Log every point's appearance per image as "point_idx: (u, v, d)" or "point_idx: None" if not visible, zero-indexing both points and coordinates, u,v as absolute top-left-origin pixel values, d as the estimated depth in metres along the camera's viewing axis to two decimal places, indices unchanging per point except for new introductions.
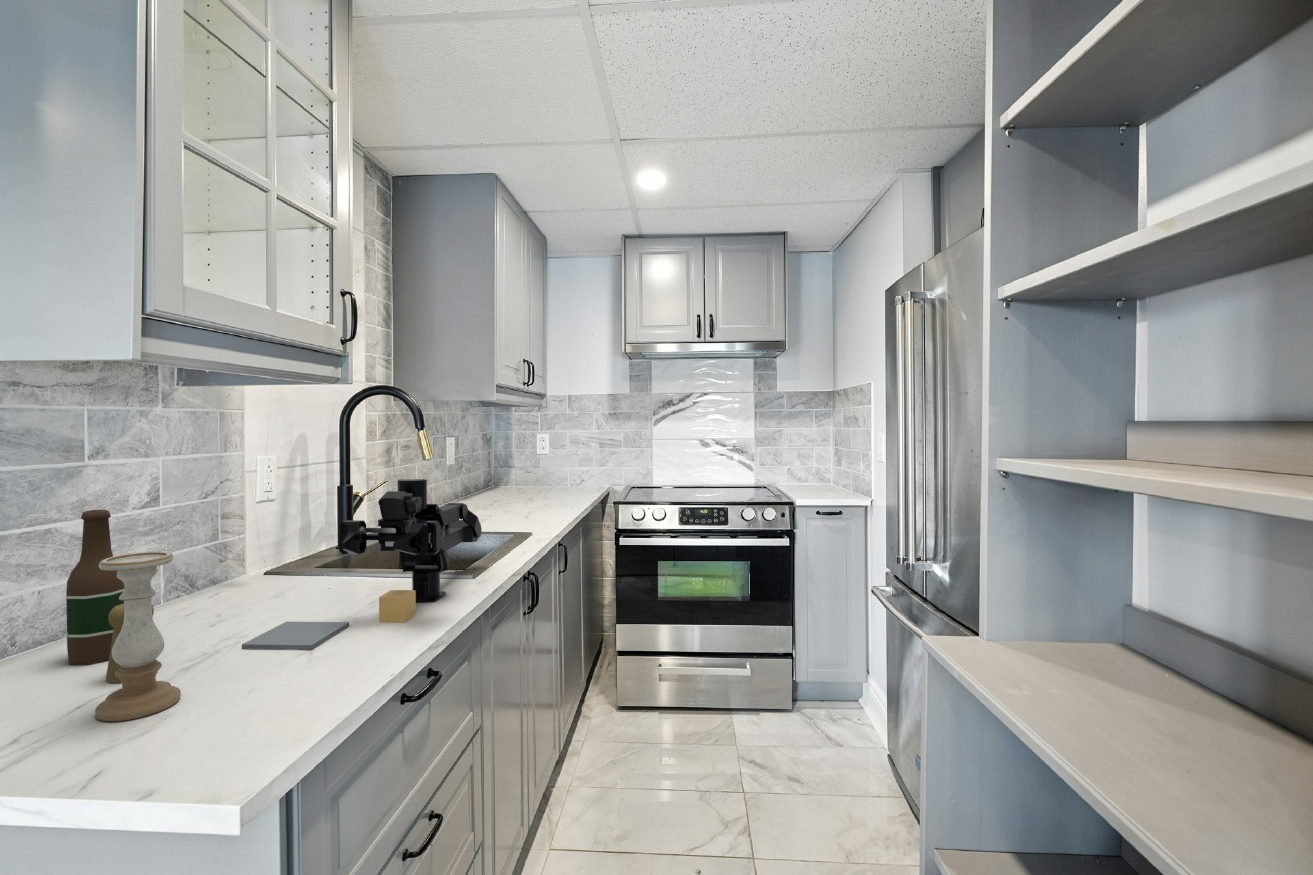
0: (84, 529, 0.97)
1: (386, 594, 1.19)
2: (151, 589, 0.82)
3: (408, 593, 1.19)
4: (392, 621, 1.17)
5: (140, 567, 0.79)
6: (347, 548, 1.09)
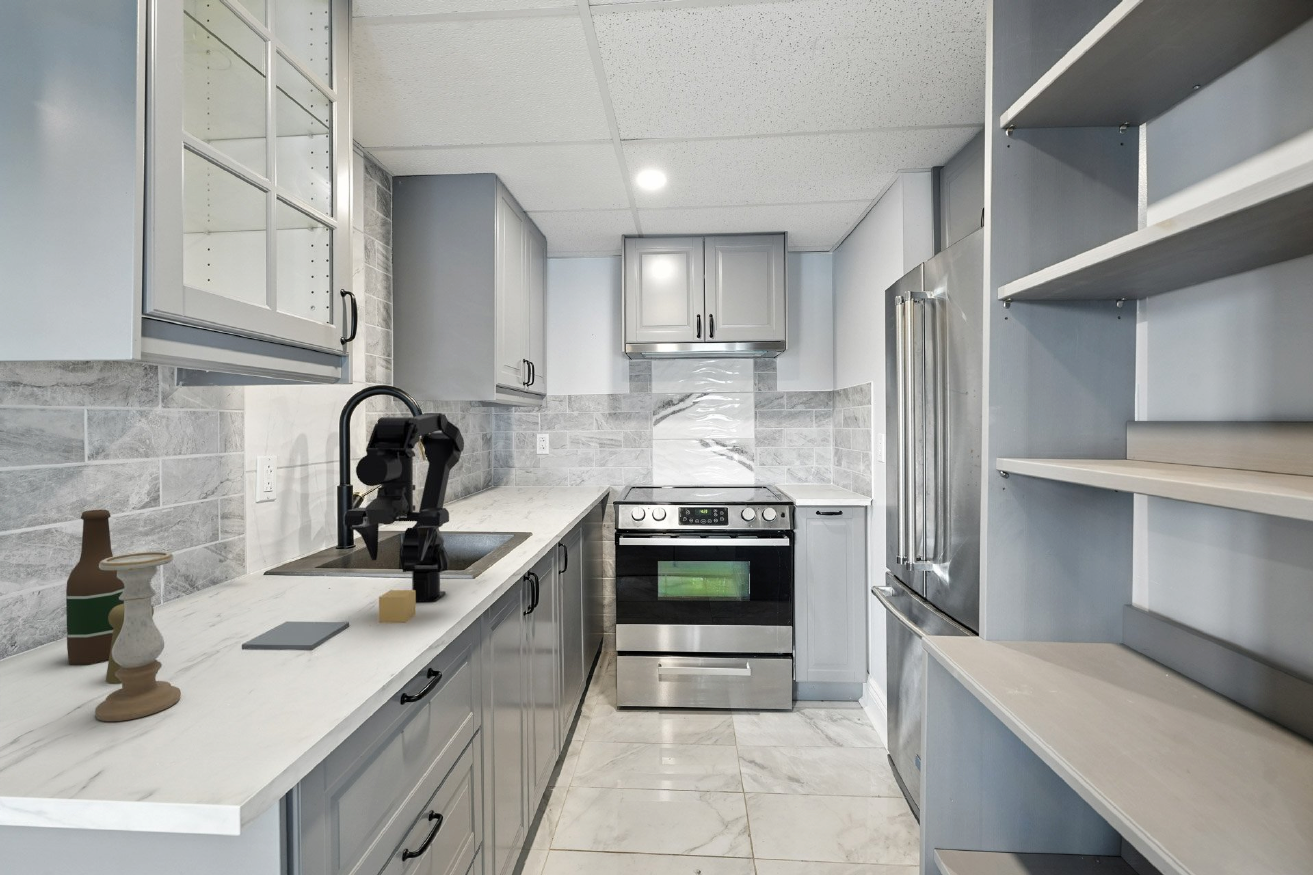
0: (84, 529, 0.97)
1: (386, 594, 1.19)
2: (151, 589, 0.82)
3: (408, 593, 1.19)
4: (392, 621, 1.17)
5: (140, 567, 0.79)
6: None
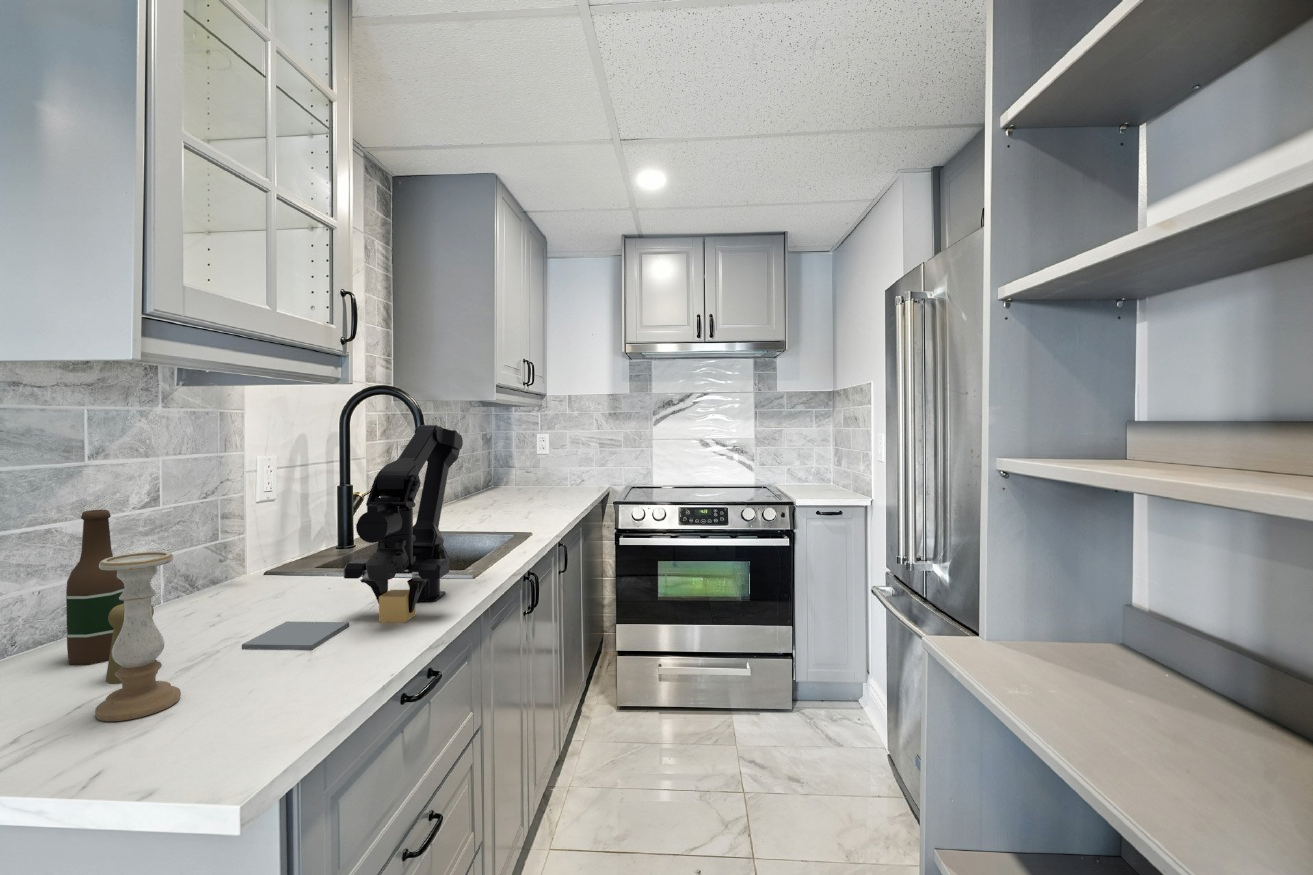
0: (84, 529, 0.97)
1: (386, 594, 1.19)
2: (151, 589, 0.82)
3: (408, 592, 1.19)
4: (392, 621, 1.17)
5: (140, 567, 0.79)
6: None
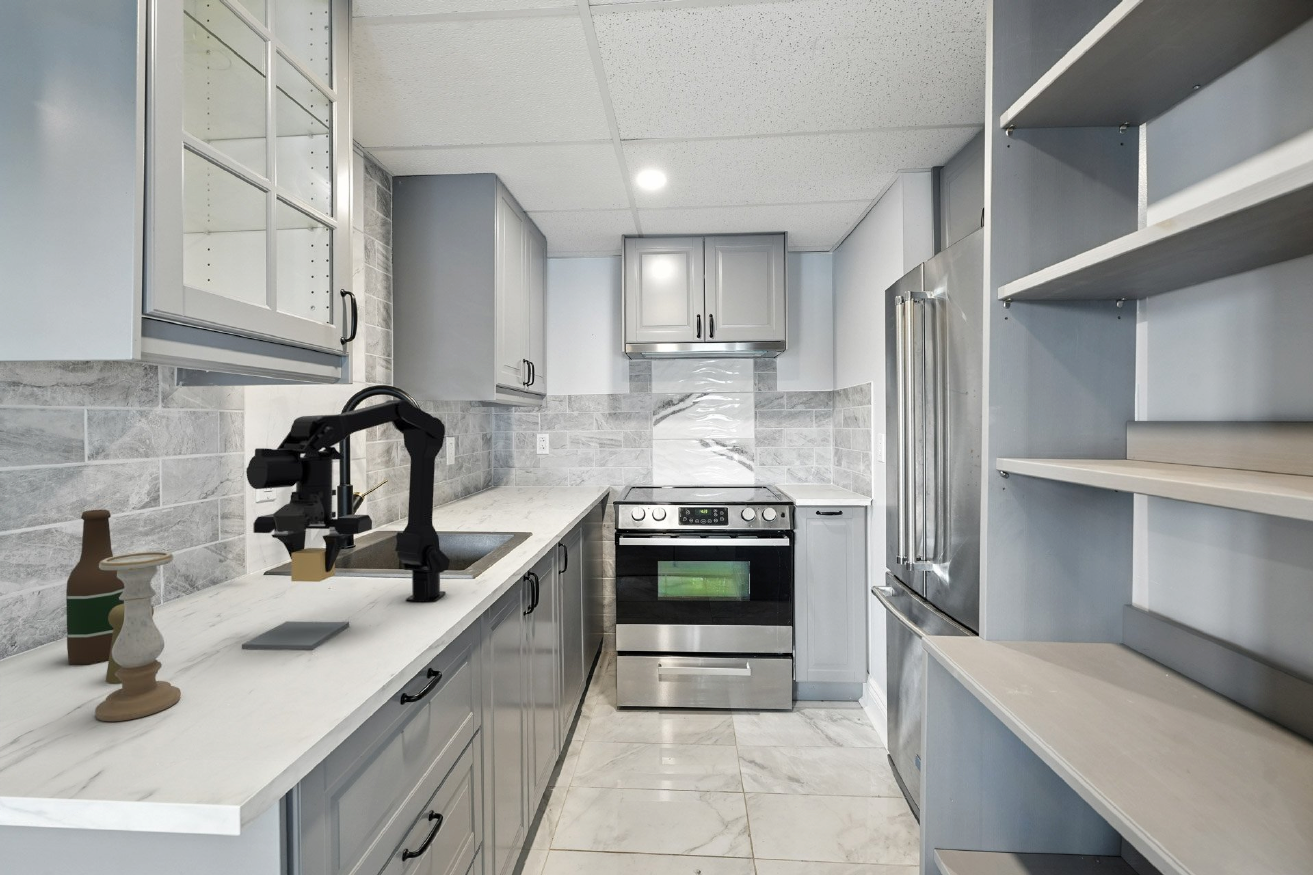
0: (84, 529, 0.97)
1: (301, 551, 1.09)
2: (151, 589, 0.82)
3: (325, 550, 1.10)
4: (306, 579, 1.07)
5: (140, 567, 0.79)
6: None
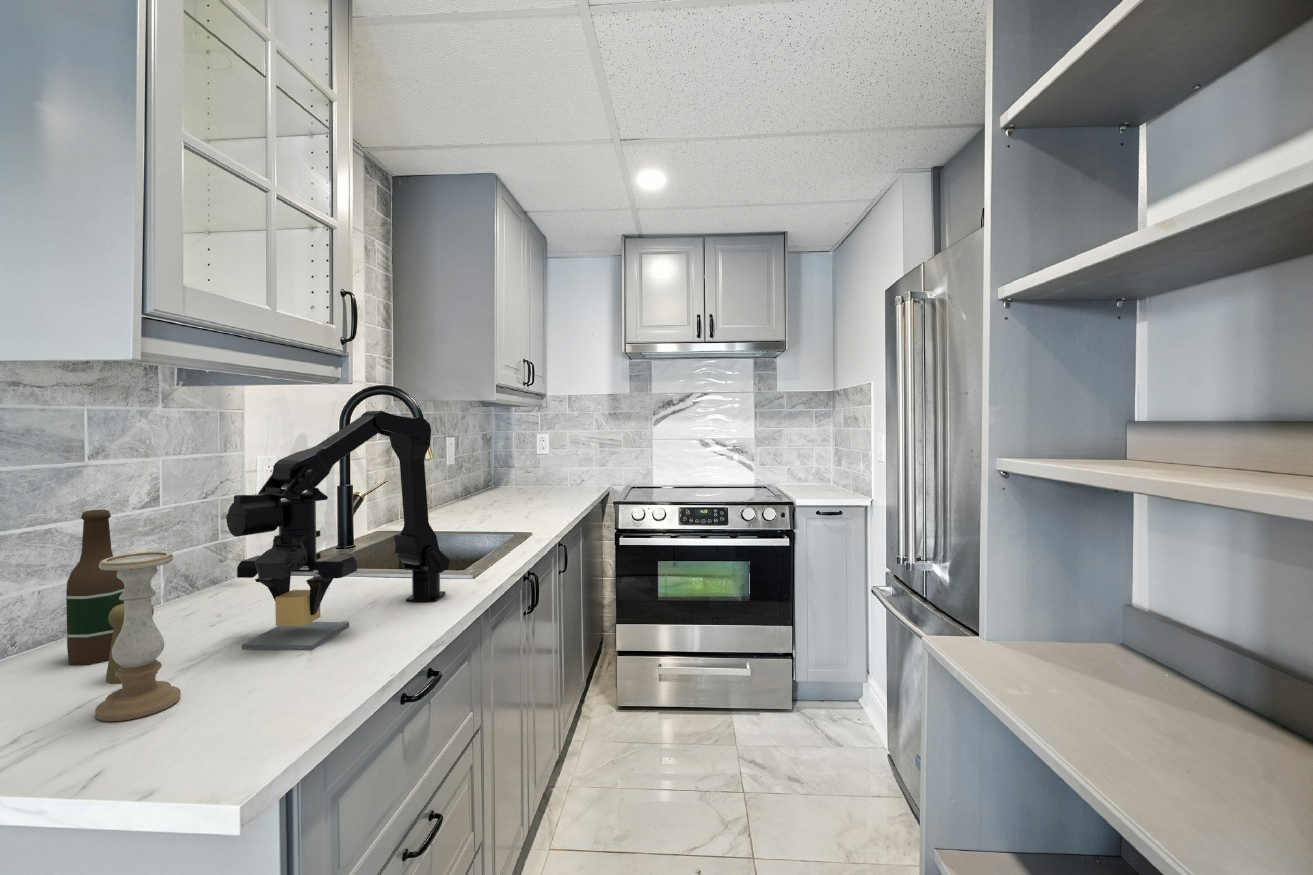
0: (84, 529, 0.97)
1: (285, 594, 1.08)
2: (151, 589, 0.82)
3: None
4: (290, 624, 1.06)
5: (140, 567, 0.79)
6: None
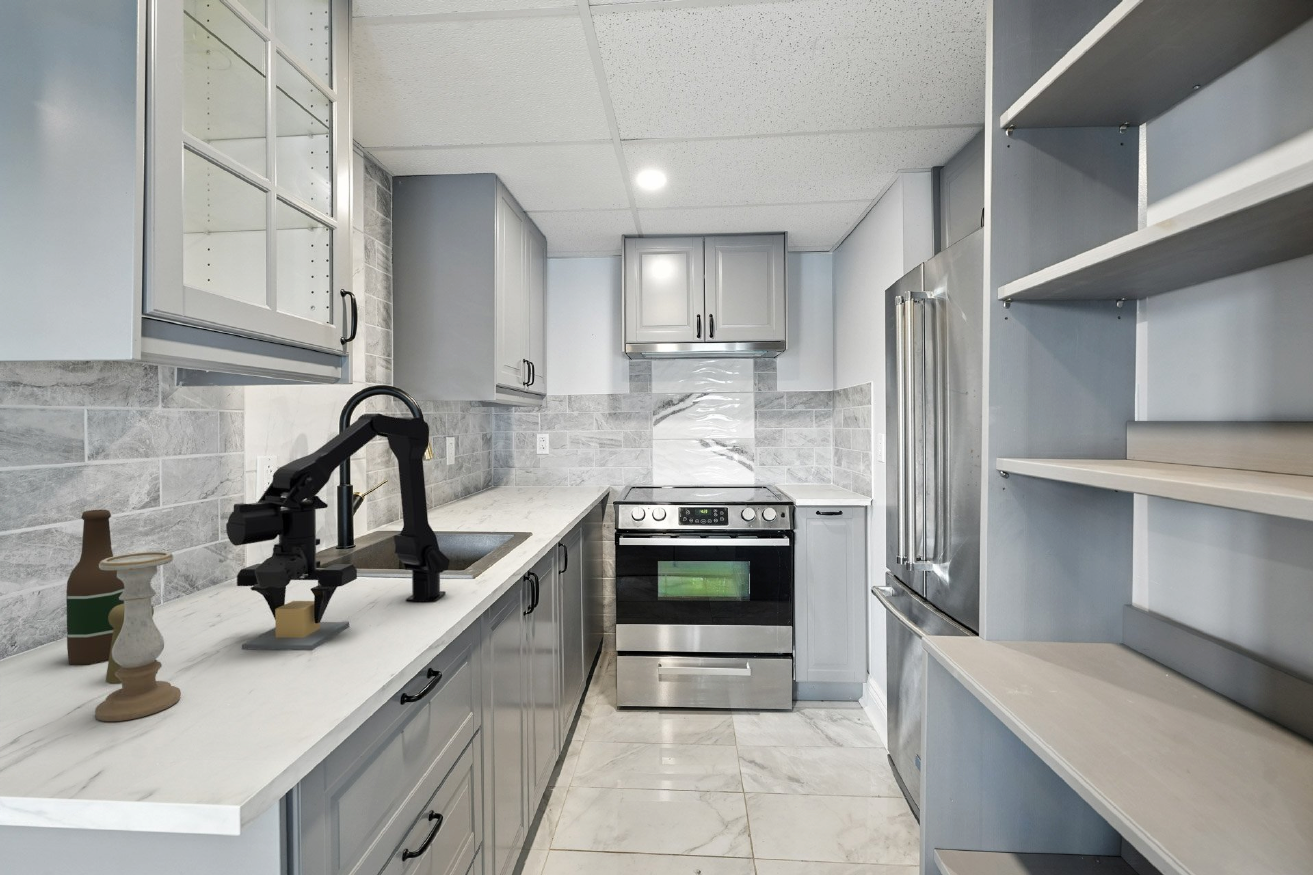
0: (84, 529, 0.97)
1: (285, 606, 1.08)
2: (151, 589, 0.82)
3: (310, 604, 1.09)
4: (290, 636, 1.06)
5: (140, 567, 0.79)
6: None
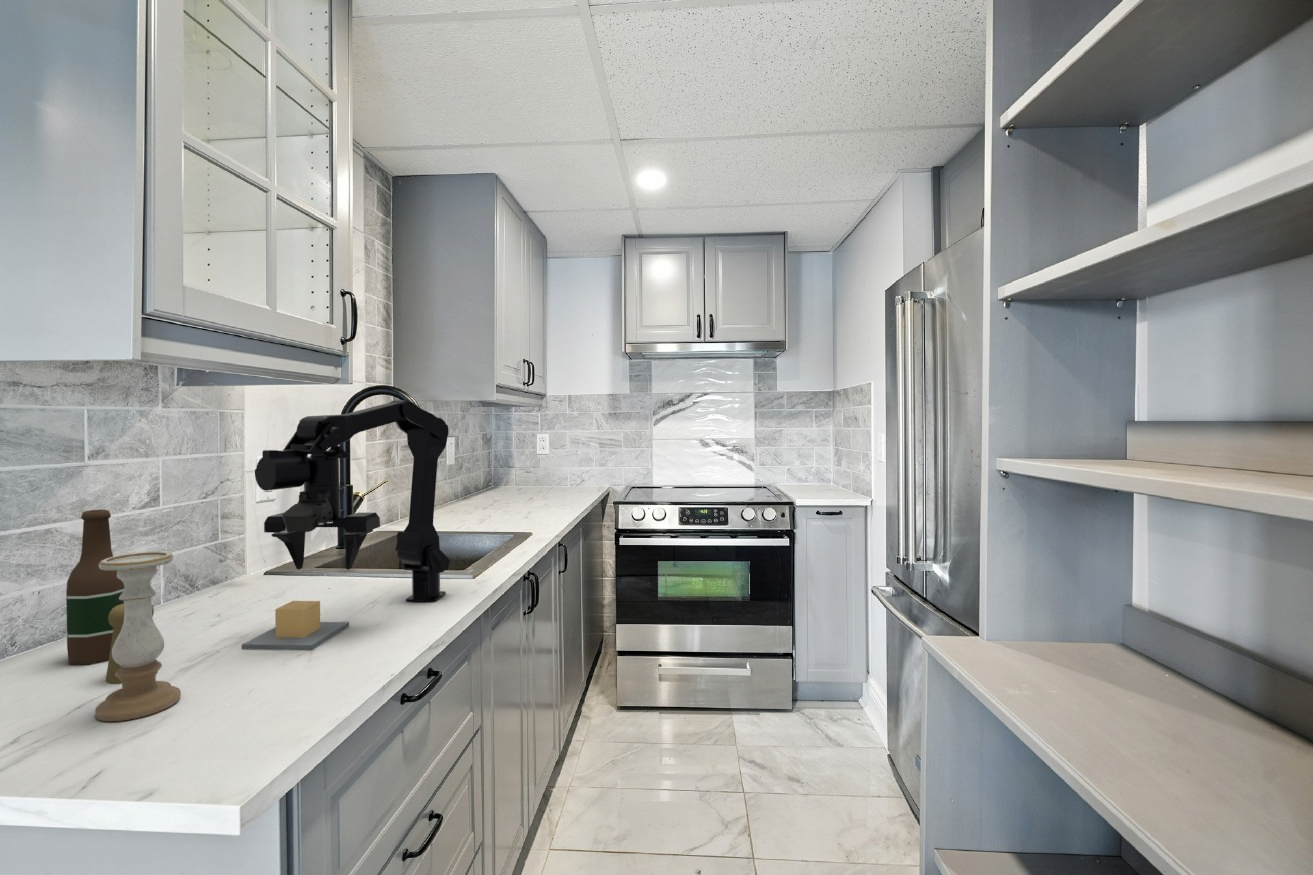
0: (84, 529, 0.97)
1: (285, 606, 1.08)
2: (151, 589, 0.82)
3: (310, 604, 1.09)
4: (290, 636, 1.06)
5: (140, 567, 0.79)
6: (302, 561, 1.12)
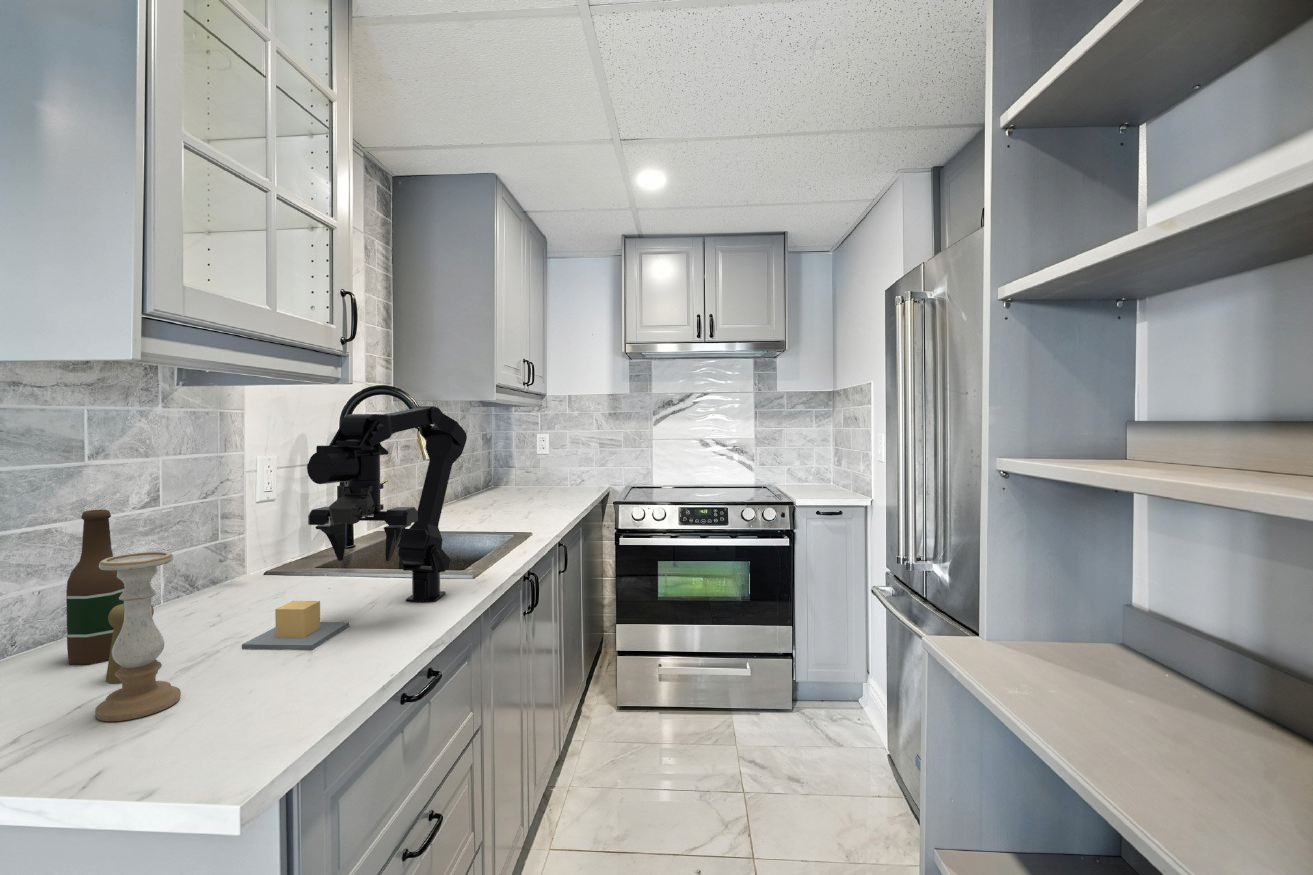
0: (84, 529, 0.97)
1: (285, 606, 1.08)
2: (151, 589, 0.82)
3: (310, 604, 1.09)
4: (290, 636, 1.06)
5: (140, 567, 0.79)
6: (343, 553, 1.17)
